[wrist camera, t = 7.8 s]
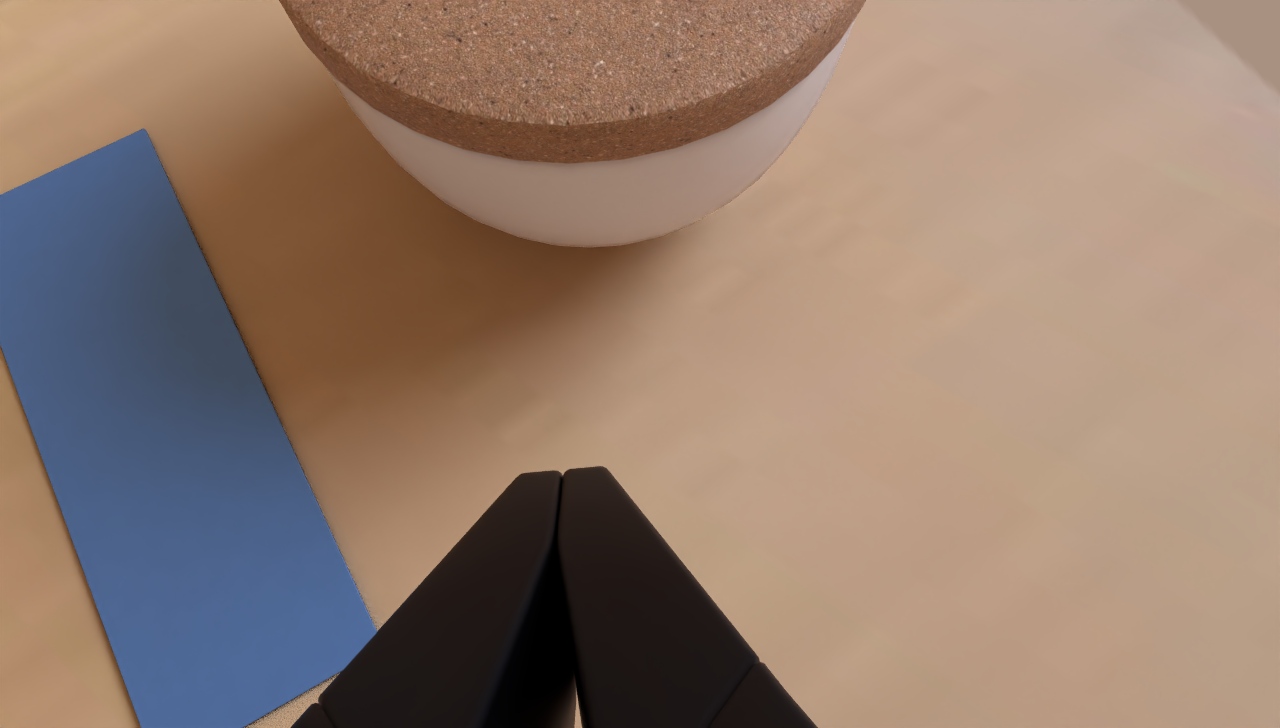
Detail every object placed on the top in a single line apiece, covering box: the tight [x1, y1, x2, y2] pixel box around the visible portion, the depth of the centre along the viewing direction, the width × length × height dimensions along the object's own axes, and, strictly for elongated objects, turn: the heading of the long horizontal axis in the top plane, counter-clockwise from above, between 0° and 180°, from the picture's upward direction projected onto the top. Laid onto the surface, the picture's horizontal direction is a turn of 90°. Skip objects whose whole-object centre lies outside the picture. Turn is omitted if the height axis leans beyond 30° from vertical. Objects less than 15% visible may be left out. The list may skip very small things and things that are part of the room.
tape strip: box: [0, 129, 377, 728], centre depth 20 cm, size 5×14×1 cm, turn 30°
